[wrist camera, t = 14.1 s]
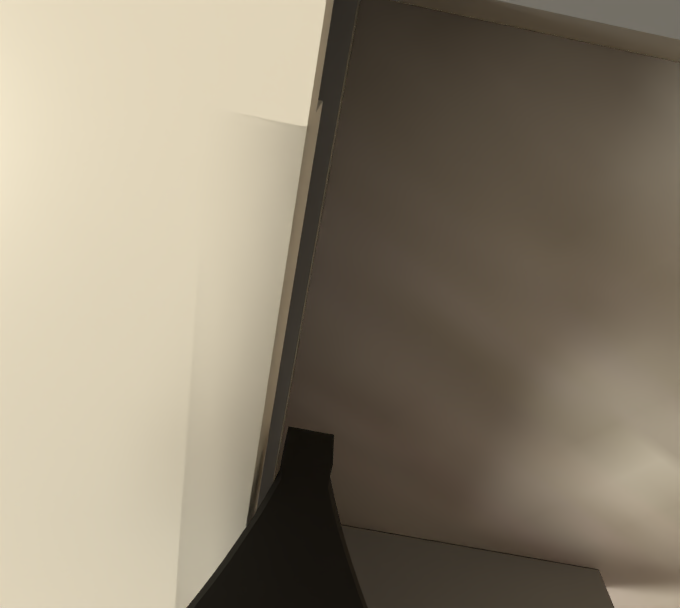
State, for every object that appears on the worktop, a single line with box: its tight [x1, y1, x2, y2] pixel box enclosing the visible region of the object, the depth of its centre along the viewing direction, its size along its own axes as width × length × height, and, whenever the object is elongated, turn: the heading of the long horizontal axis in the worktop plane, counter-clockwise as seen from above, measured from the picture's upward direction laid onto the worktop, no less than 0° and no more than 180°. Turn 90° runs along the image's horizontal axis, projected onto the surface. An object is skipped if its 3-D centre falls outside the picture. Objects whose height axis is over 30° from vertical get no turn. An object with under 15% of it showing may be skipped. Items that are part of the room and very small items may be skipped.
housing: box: [256, 0, 680, 608], centre depth 12 cm, size 18×26×6 cm
